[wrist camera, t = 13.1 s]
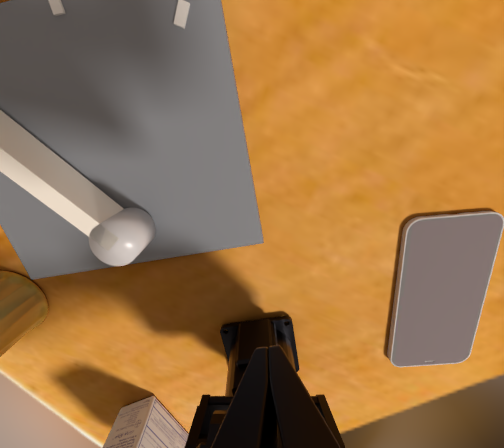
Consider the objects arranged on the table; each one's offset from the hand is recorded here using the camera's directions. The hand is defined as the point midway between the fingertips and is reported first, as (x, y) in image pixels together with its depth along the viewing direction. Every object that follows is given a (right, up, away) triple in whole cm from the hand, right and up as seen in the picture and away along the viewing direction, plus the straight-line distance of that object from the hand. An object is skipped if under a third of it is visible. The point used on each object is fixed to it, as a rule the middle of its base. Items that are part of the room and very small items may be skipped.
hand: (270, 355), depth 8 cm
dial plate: (-11, +10, +9) cm, 17 cm away
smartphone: (+15, -2, +14) cm, 21 cm away
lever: (-13, +8, +9) cm, 17 cm away
